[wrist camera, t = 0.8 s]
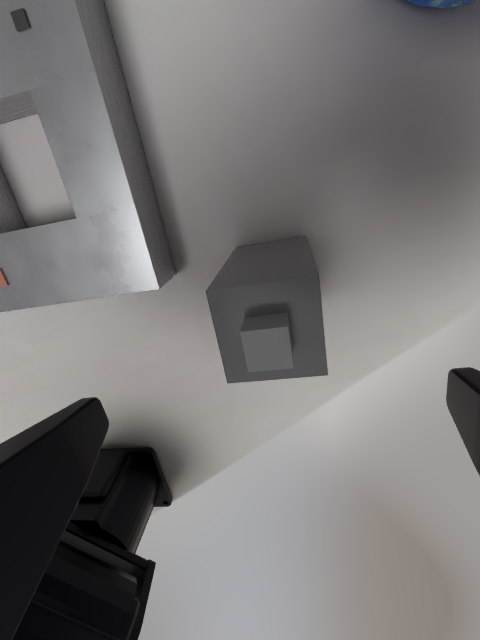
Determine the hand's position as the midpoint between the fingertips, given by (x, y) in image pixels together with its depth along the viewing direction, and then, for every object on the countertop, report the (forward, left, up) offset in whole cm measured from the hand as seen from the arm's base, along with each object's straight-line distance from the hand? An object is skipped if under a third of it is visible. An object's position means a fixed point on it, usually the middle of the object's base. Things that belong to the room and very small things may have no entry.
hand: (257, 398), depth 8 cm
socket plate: (+8, +12, -12) cm, 19 cm away
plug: (0, 0, -12) cm, 12 cm away
